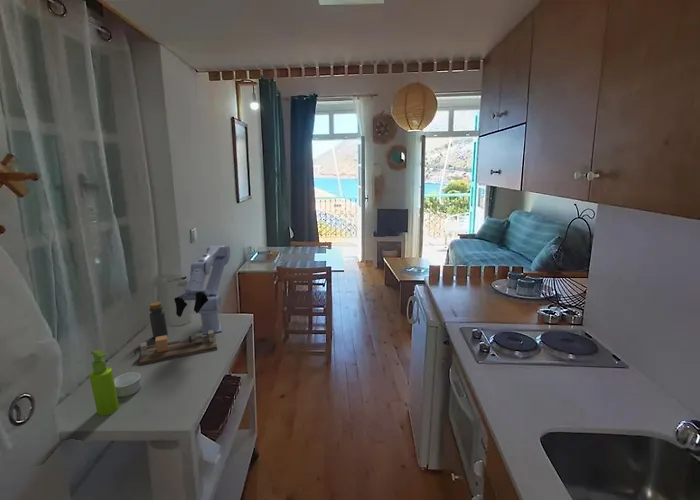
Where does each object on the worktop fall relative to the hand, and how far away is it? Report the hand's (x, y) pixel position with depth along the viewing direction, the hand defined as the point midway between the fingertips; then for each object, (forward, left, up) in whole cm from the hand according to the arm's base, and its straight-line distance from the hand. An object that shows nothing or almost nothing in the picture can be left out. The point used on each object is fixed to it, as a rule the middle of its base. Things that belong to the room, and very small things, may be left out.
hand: (187, 313), depth 155 cm
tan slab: (-7, -5, -17) cm, 19 cm away
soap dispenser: (+27, -25, -17) cm, 41 cm away
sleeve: (-7, -11, -16) cm, 20 cm away
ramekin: (+17, -21, -17) cm, 32 cm away
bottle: (-25, -13, -17) cm, 33 cm away
